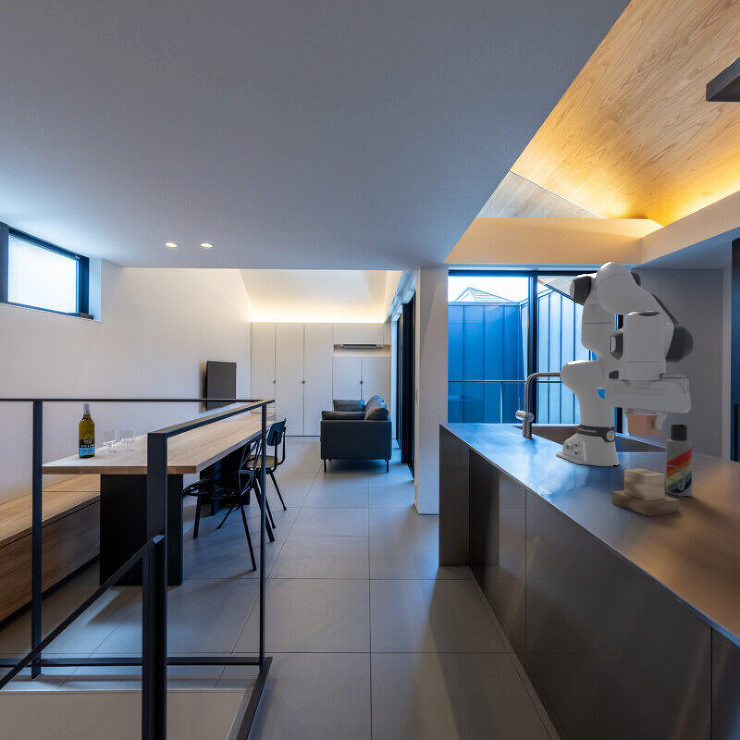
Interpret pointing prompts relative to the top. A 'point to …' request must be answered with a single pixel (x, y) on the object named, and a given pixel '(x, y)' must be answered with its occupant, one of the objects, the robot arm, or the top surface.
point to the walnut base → (645, 504)
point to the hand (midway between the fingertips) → (644, 427)
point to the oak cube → (644, 484)
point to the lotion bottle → (679, 461)
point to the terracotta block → (642, 424)
